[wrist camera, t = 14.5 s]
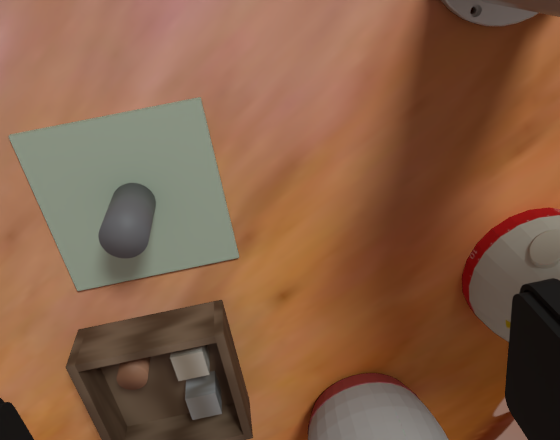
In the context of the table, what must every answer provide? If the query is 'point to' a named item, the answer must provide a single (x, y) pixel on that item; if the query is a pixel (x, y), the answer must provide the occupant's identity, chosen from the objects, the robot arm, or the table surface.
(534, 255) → the kitchen timer
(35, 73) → the table surface
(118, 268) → the lid
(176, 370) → the box
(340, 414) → the citrus juicer
